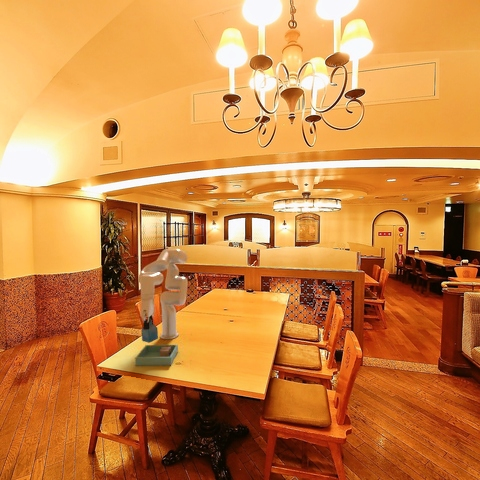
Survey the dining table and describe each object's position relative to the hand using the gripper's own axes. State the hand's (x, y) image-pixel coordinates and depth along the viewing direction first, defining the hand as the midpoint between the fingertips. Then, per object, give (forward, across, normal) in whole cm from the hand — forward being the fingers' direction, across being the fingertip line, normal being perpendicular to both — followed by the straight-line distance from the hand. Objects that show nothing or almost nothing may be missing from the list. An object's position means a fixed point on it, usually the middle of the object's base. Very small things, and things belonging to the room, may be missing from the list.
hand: (148, 326), depth 146 cm
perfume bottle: (+8, 0, +1) cm, 8 cm away
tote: (+19, 0, +5) cm, 19 cm away
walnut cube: (+18, 0, +10) cm, 20 cm away
